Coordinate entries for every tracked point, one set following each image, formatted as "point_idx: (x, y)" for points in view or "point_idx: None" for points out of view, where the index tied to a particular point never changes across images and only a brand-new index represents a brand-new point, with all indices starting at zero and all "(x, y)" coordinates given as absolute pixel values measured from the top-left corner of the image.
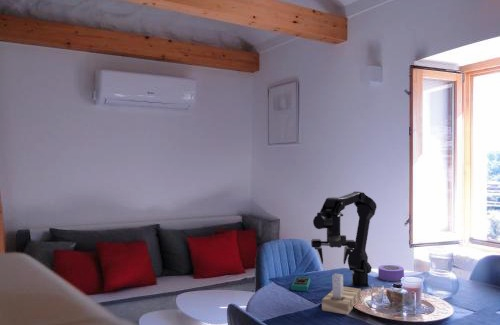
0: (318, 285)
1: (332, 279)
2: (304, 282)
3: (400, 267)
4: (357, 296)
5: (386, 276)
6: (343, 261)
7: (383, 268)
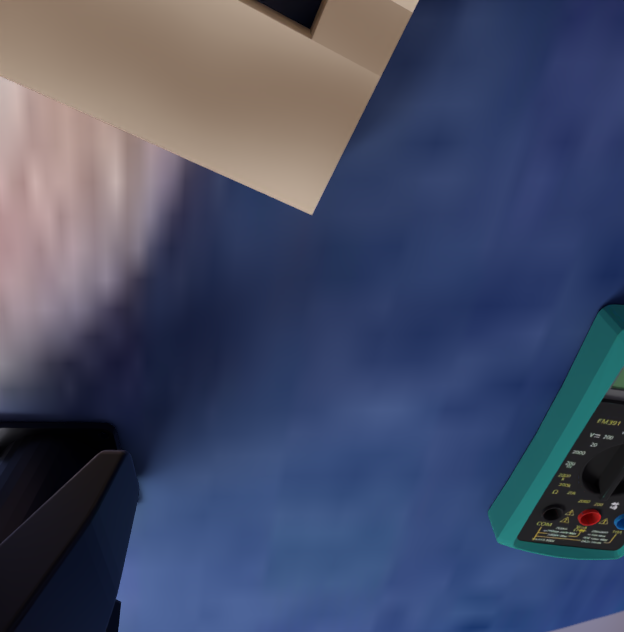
0: (441, 445)
1: None
2: (603, 441)
3: None
4: None
5: None
6: (123, 546)
7: None
